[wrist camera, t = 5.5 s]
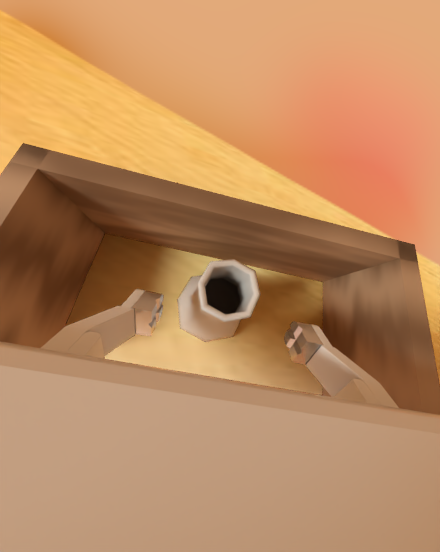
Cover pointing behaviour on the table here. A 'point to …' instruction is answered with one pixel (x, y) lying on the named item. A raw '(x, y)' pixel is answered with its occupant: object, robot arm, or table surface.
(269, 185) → the table surface
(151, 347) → the table surface
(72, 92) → the table surface
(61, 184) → the u-shaped enclosure
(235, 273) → the flask
